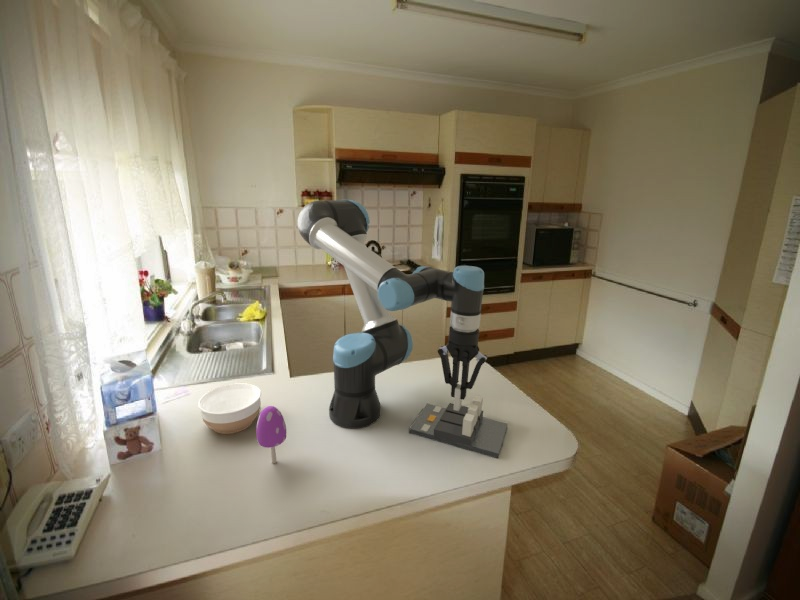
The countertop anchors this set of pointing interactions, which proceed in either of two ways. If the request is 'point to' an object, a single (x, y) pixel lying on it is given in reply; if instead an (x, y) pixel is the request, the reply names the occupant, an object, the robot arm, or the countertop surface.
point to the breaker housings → (459, 423)
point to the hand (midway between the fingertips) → (457, 407)
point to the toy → (271, 429)
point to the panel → (483, 443)
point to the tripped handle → (473, 412)
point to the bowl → (230, 407)
